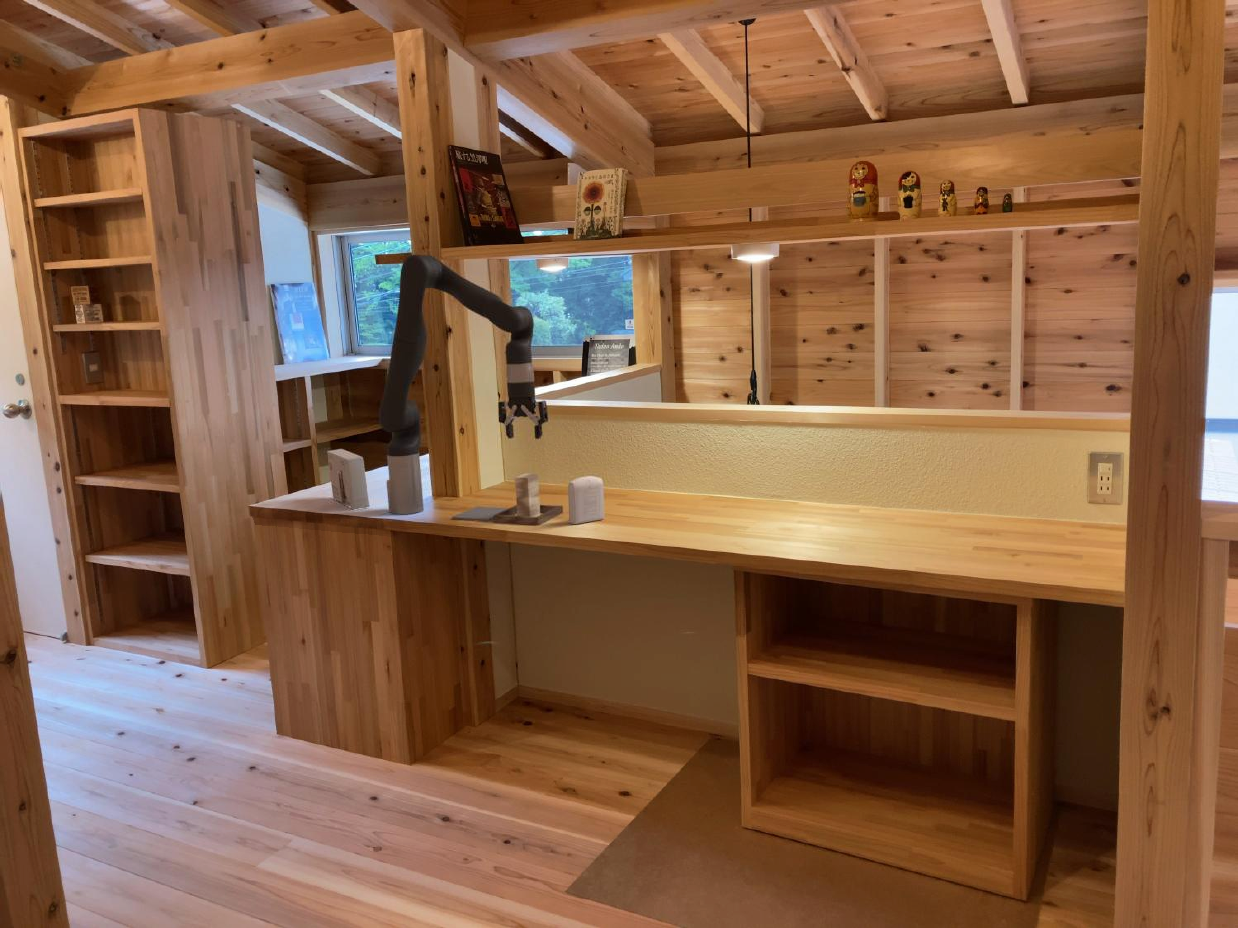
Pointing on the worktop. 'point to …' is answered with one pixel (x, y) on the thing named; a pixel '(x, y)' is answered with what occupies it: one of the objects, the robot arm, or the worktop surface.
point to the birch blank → (527, 495)
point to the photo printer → (586, 499)
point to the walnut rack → (507, 517)
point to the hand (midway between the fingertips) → (524, 438)
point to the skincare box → (348, 478)
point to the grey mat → (479, 513)
